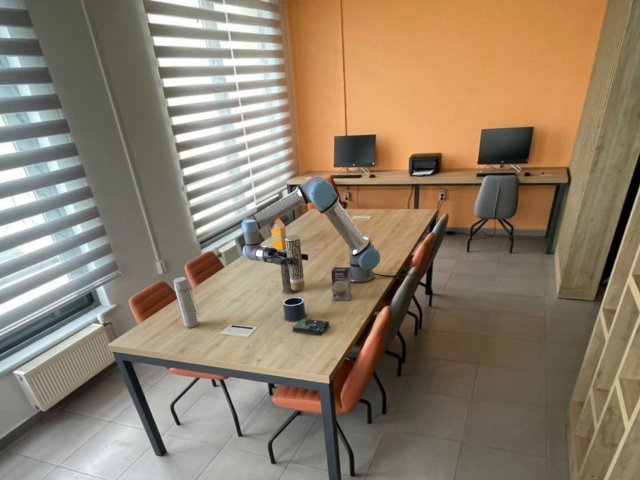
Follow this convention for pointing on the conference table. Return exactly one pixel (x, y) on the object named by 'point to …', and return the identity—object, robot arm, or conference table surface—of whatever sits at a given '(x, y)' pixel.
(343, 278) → the coffee box
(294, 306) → the pen pot
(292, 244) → the paper tube
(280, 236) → the orange juice
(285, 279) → the beer stein
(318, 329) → the disk drive
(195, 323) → the water bottle
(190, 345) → the conference table surface
